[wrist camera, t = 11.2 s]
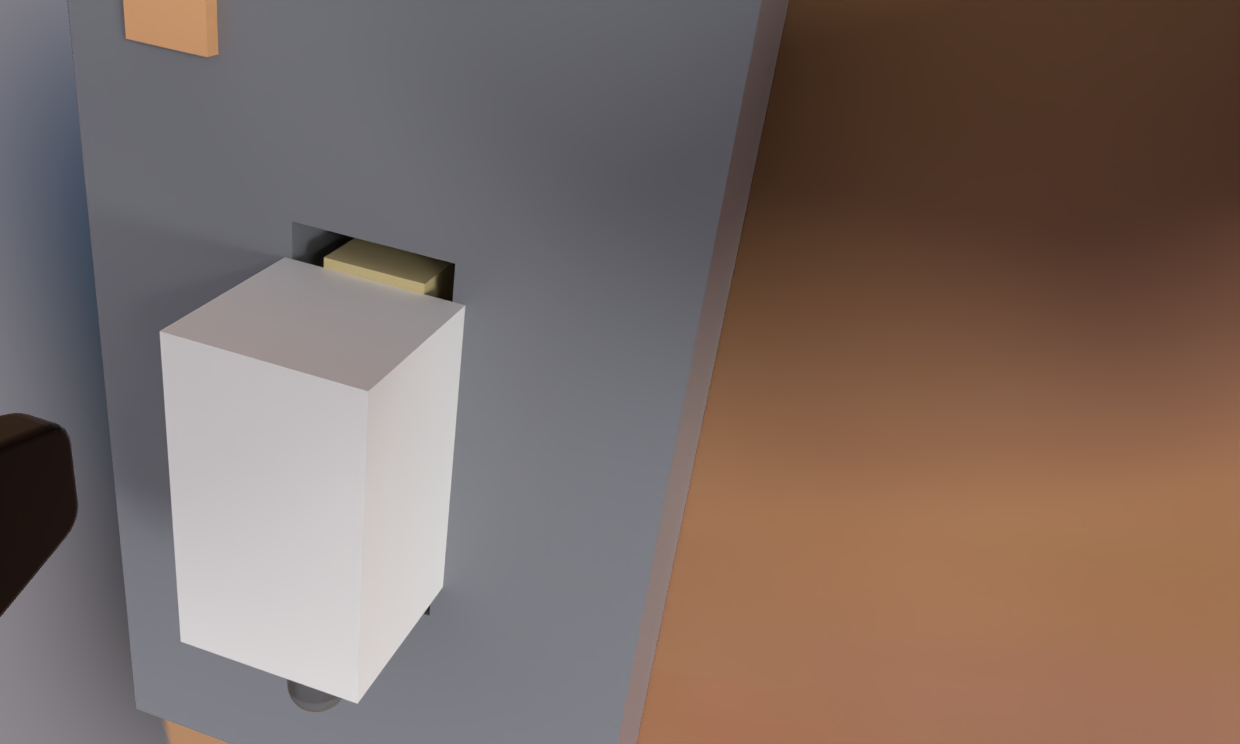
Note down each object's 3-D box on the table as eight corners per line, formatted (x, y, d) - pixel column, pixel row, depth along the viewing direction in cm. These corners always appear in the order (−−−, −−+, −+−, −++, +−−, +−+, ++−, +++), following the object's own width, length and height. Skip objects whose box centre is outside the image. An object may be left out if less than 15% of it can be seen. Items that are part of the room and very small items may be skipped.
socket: (803, -71, 18) (768, -53, 15) (629, 778, 27) (587, 887, 24) (168, -185, 20) (35, -190, 17) (211, 633, 30) (128, 716, 27)
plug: (518, 249, 21) (368, 379, 16) (482, 603, 26) (354, 797, 20) (353, 207, 22) (158, 319, 17) (344, 559, 26) (187, 735, 21)
